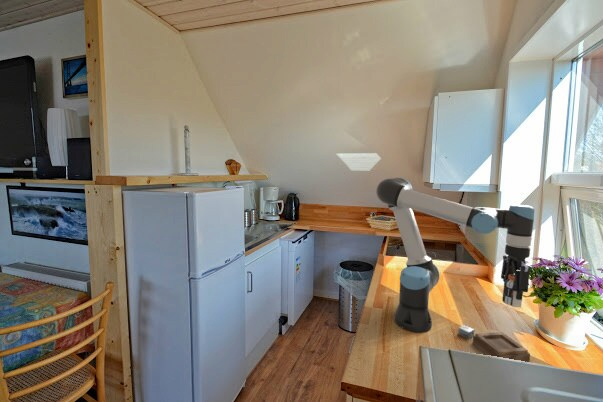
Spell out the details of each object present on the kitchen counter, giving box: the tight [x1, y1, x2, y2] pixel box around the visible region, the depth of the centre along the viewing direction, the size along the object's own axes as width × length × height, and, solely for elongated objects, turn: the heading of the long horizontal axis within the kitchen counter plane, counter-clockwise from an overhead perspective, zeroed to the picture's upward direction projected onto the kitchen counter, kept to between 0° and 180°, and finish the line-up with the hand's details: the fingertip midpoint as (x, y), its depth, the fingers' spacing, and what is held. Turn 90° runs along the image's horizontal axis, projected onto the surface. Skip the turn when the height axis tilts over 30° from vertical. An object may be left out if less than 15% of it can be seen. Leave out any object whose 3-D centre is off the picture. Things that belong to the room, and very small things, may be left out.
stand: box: [472, 331, 531, 363], centre depth 102 cm, size 12×12×4 cm
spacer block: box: [458, 324, 475, 340], centre depth 112 cm, size 4×4×3 cm
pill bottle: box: [502, 274, 515, 307], centre depth 109 cm, size 6×6×11 cm
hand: (511, 302), depth 110 cm, fingers closed on pill bottle, 6 cm apart
